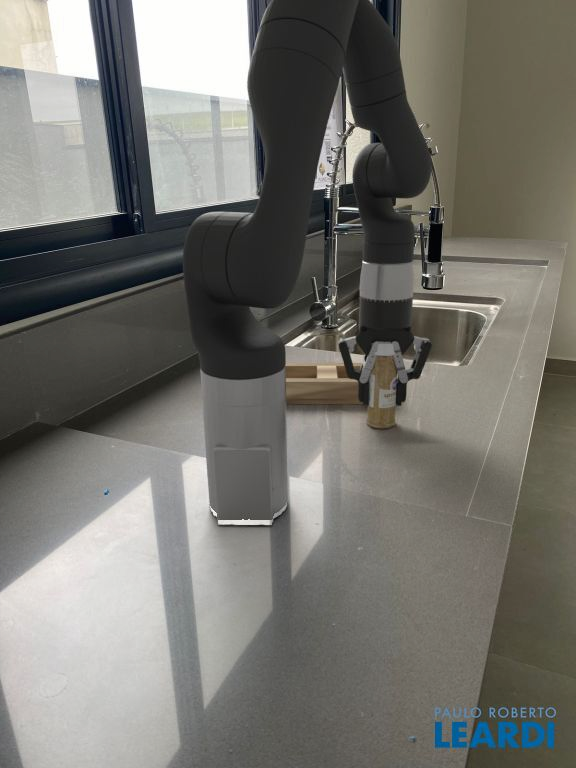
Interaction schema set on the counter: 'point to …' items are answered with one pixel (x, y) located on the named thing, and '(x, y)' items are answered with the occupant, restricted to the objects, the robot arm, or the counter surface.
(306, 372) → the rack
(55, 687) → the counter surface
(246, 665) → the counter surface
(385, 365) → the sprinkles bottle
